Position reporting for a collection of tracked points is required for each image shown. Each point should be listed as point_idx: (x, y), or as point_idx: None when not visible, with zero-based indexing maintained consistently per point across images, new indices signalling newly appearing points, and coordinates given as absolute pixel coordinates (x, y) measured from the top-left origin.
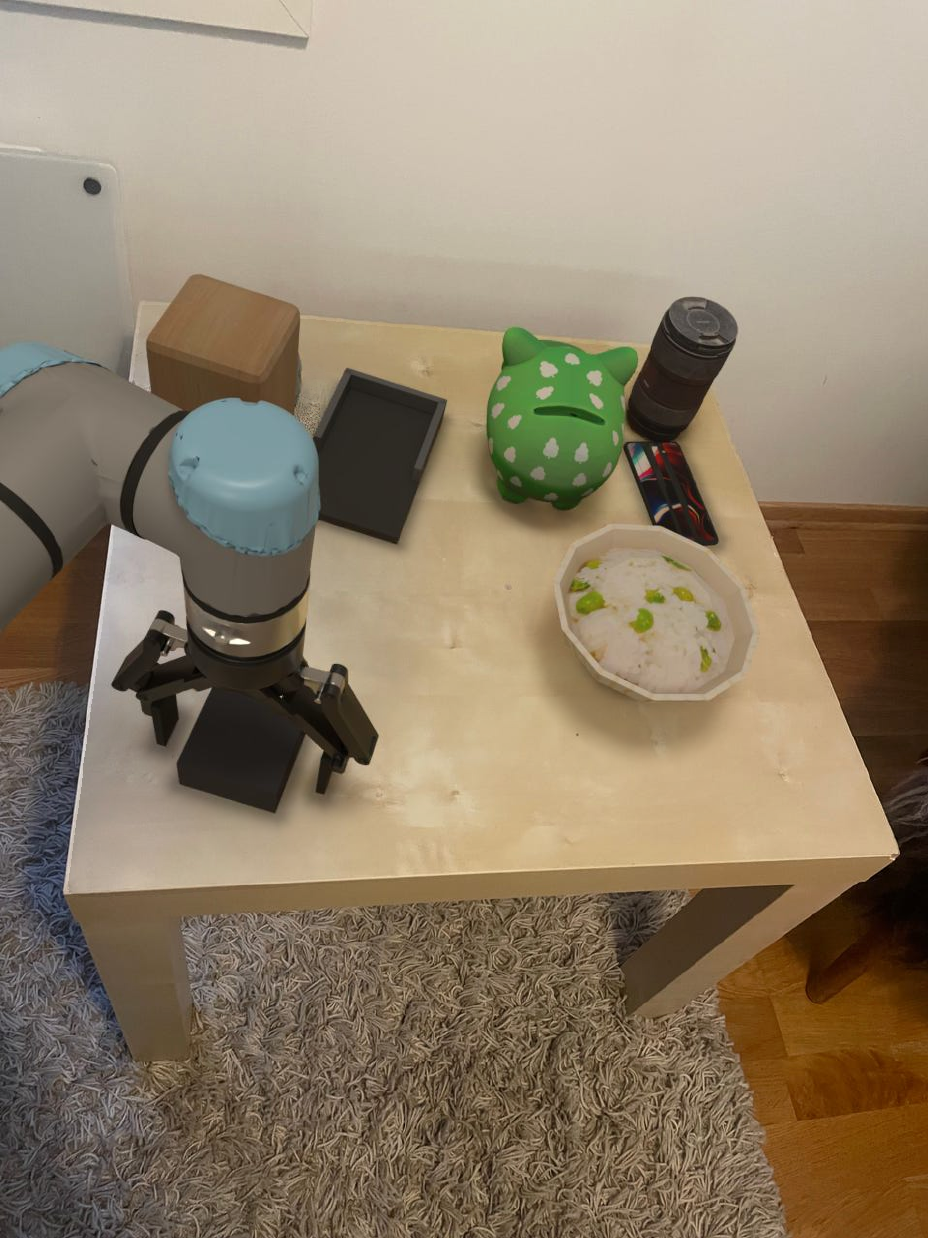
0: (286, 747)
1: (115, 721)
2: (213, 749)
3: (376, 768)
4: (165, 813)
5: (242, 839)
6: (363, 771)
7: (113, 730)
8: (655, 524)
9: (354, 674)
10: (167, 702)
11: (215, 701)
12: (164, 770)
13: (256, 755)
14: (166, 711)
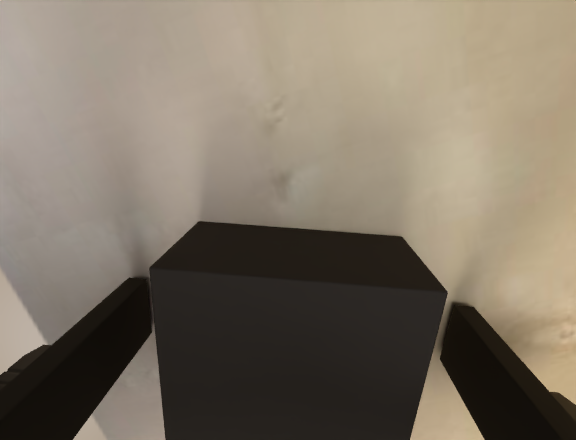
0: (397, 405)
1: (51, 302)
2: (228, 435)
3: (563, 286)
4: None
5: None
6: (533, 297)
7: (59, 317)
8: None
9: (506, 52)
10: (49, 424)
11: (179, 333)
12: None
13: (328, 433)
14: (75, 405)
